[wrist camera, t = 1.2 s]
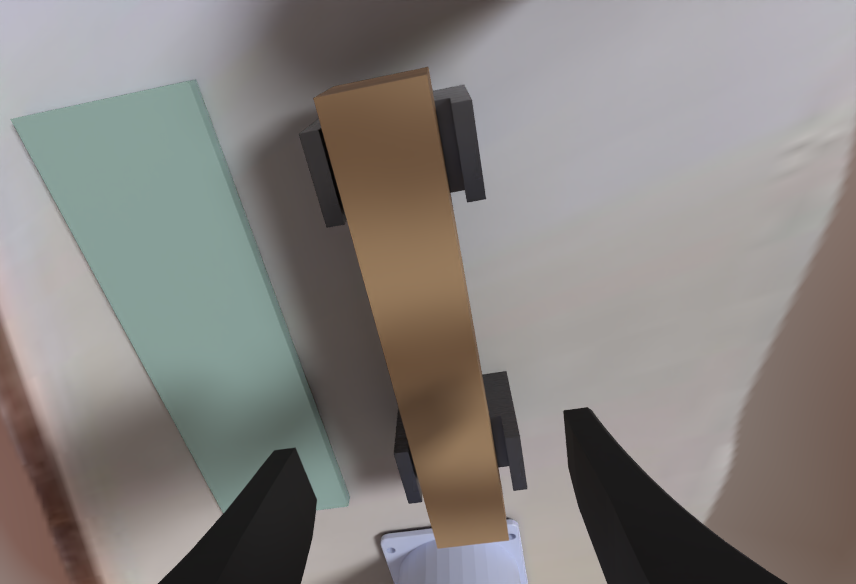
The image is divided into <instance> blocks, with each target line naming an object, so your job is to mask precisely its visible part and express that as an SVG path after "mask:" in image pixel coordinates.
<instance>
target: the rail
mask: <svg viewBox="0 0 856 584" xmlns="http://www.w3.org/2000/svg"><path fill="white" fill-rule="evenodd" d="M313 99H314V103H315V106H316V110H317V113H318V117H319V121H320V124H321V128H322V132H323V135H324V139H325V142H326V146H327V150H328V153H329V157H330V161H331V164H332V168H333V171H334V175H335V179H336V182H337V186H338V190H339V193H340V197H341V200H342V204H343V208H344V211H345V215H346V219H347V222H348V226H349V229H350V233H351V237H352V240H353V244H354V248H355V251H356V255H357V258H358V262H359V266H360V269H361V273H362V277H363V280H364V284H365V287H366V291H367V295H368V298H369V302H370V306H371V309H372V313H373V316H374V320H375V324H376V327H377V331H378V335H379V338H380V342H381V345H382V349H383V353H384V356H385V360H386V364H387V367H388V371H389V374H390V378H391V382H392V385H393V389H394V393H395V396H396V400H397V403H398V407H399V411H400V414H401V418H402V422H403V425H404V429H405V432H406V436H407V440H408V443H409V447H410V451H411V454H412V458H413V461H414V465H415V469H416V472H417V476H418V480H419V483H420V487H421V490H422V494H423V498H424V501H425V505H426V509H427V512H428V516H429V519H430V523H431V527H432V530H433V534H434V538H435V541H436V545H437V548H438V549H440V548H448V547H457V546H466V545H475V544H483V543H492V542H501V541H509V535H508V528H507V521H506V514H505V507H504V500H503V493H502V486H501V480H500V474H499V469H498V463H497V457H496V451H495V446H494V440H493V434H492V429H491V423H490V417H489V411H488V406H487V400H486V394H485V388H484V383H483V377H482V371H481V366H480V360H479V354H478V348H477V343H476V337H475V331H474V325H473V320H472V314H471V308H470V303H469V297H468V291H467V285H466V280H465V274H464V268H463V262H462V257H461V251H460V245H459V240H458V234H457V228H456V222H455V217H454V211H453V205H452V199H451V194H450V188H449V182H448V177H447V171H446V165H445V159H444V154H443V148H442V142H441V137H440V131H439V125H438V119H437V114H436V108H435V102H434V96H433V91H432V85H431V79H430V74H429V68H428V67H425V68H420V69H416V70H411V71H406V72H401V73H396V74H391V75H387V76H382V77H377V78H372V79H367V80H362V81H358V82H353V83H348V84H343V85H338V86H334V87H332V88H330V89H328V90H327V91H325V92H323V93H321V94H319V95H318V96H316V97H314V98H313Z"/></svg>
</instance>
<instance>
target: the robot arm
mask: <svg viewBox="0 0 856 584" xmlns="http://www.w3.org/2000/svg"><path fill="white" fill-rule="evenodd" d="M563 412H564V423H565V435H566V446H567V457H568V468H569V472H570V476H571V480H572V484H573V488H574V492H575V495H576V499H577V503H578V507H579V509H580V512H581V515H582V517H583V520H584V523H585V525H586V528H587V531H588V534H589V536H590V539H591V542H592V544H593V547H594V549H595V552H596V555H597V557H598V560H599V563H600V565H601V568H602V571H603V573H604V576H605V579H606V581H607V584H787V583H786V582H784V581H782V580H781V579H779V578H778V577H776V576H775V575H773V574H771V573H770V572H768V571H767V570H766V569H764V568H763V567H761V566H760V565H758V564H757V563H755V562H754V561H753V560H751V559H750V558H748V557H747V556H745V555H744V554H743V553H741V552H740V551H738V550H737V549H735V548H734V547H732V546H731V545H730V544H728V543H727V542H725V541H724V540H723V539H721V538H720V537H719V536H718V535H716V534H715V533H714V532H712V531H711V530H710V529H709V528H707V527H706V526H705V525H703V524H702V523H701V522H700V521H699V520H697V519H696V518H695V517H694V516H693V515H691V514H690V513H689V512H688V511H686V510H685V509H684V508H683V507H682V506H681V505H680V504H678V503H677V502H676V501H675V500H674V499H673V498H672V497H671V496H669V495H668V494H667V493H666V492H665V491H664V490H663V489H662V488H661V487H660V486H659V485H658V484H657V483H656V482H655V481H654V480H652V479H651V478H650V477H649V476H648V475H647V474H646V473H645V472H644V471H643V470H642V468H641V467H640V466H639V465H638V464H637V463H636V462H635V461H634V460H633V459H632V458H631V457H630V456H629V455H628V454H627V453H626V452H625V450H624V449H623V448H622V447H621V446H620V445H619V444H618V443H617V441H616V440H615V439H614V438H613V437H612V436H611V434H610V433H609V432H608V431H607V430H606V428H605V427H604V426H603V425H602V423H601V422H600V421H599V419H598V418H597V417H596V415H595V414H594V413H593V411H592V410H591V409H589V408H588V407H586V408H579V409H572V410H564V411H563ZM316 505H317V498H316V496H315V493H314V491H313V489H312V486H311V484H310V481H309V479H308V476H307V474H306V472H305V469H304V467H303V464H302V462H301V460H300V457H299V455H298V452H297V450H296V447H295V448H287V449H280V450H274V451H273V452H272V454H271V455H270V456H269V457H268V458H267V460H266V461H265V462H264V463H263V465H262V466H261V467H260V468H259V470H258V471H257V472H256V474H255V475H254V476H253V477H252V479H251V480H250V481H249V482H248V484H247V485H246V486H245V488H244V489H243V490H242V491H241V492H240V494H239V495H238V496H237V497H236V499H235V500H234V501H233V502H232V504H231V505H230V506H229V507H228V508H227V510H226V511H225V512H224V513H223V515H222V516H221V517H220V518H219V519H218V520H217V521H216V523H215V524H214V525H213V526H212V527H211V528H210V529H209V531H208V532H207V533H206V534H205V535H204V536H203V537H202V539H201V540H200V541H199V542H198V543H197V544H196V545H195V546H194V548H193V549H192V550H191V551H190V552H189V553H188V554H187V555H186V556H185V557H184V558H183V559H182V560H181V561H180V562H179V563H178V564H177V565H176V566H175V567H174V568H173V569H172V570H171V571H170V572H169V573H168V574H167V575H166V576H165V577H164V578H163V579H162V580H161V581H160V582H159V583H158V584H301V581H302V577H303V573H304V569H305V565H306V561H307V557H308V553H309V549H310V545H311V541H312V536H313V529H314V522H315V514H316ZM506 521H507V528H508V535H509V541H501V542H492V543H483V544H475V545H466V546H457V547H448V548H440V549H438V548H437V545H436V541H435V538H434V534H433V530H432V528H431V529H423V530H414V531H406V532H397V533H389V534H385V535H383V536H382V537H381V547H382V550H383V553H384V556H385V559H386V562H387V564H388V567H389V570H390V573H391V576H392V579H393V582H394V584H528V581H527V575H526V569H525V562H524V556H523V550H522V544H521V538H520V531H519V525H518V523H517V522H516V521H515V520H512V519H507V520H506Z"/></svg>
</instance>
